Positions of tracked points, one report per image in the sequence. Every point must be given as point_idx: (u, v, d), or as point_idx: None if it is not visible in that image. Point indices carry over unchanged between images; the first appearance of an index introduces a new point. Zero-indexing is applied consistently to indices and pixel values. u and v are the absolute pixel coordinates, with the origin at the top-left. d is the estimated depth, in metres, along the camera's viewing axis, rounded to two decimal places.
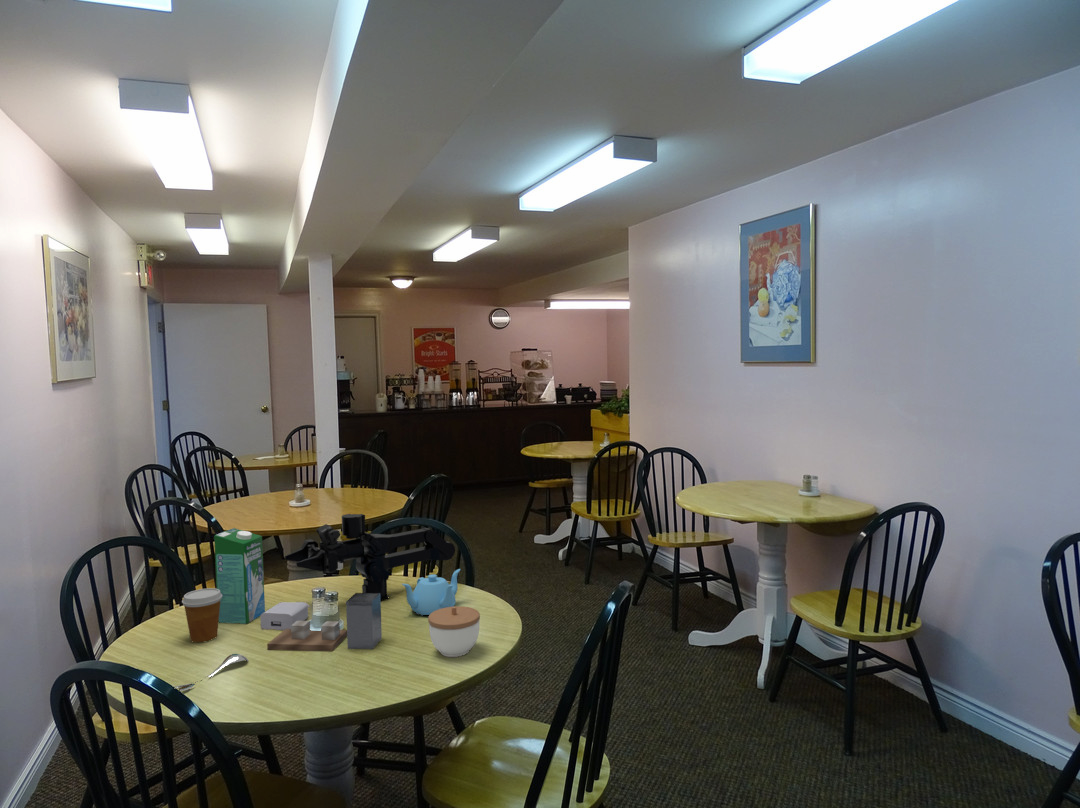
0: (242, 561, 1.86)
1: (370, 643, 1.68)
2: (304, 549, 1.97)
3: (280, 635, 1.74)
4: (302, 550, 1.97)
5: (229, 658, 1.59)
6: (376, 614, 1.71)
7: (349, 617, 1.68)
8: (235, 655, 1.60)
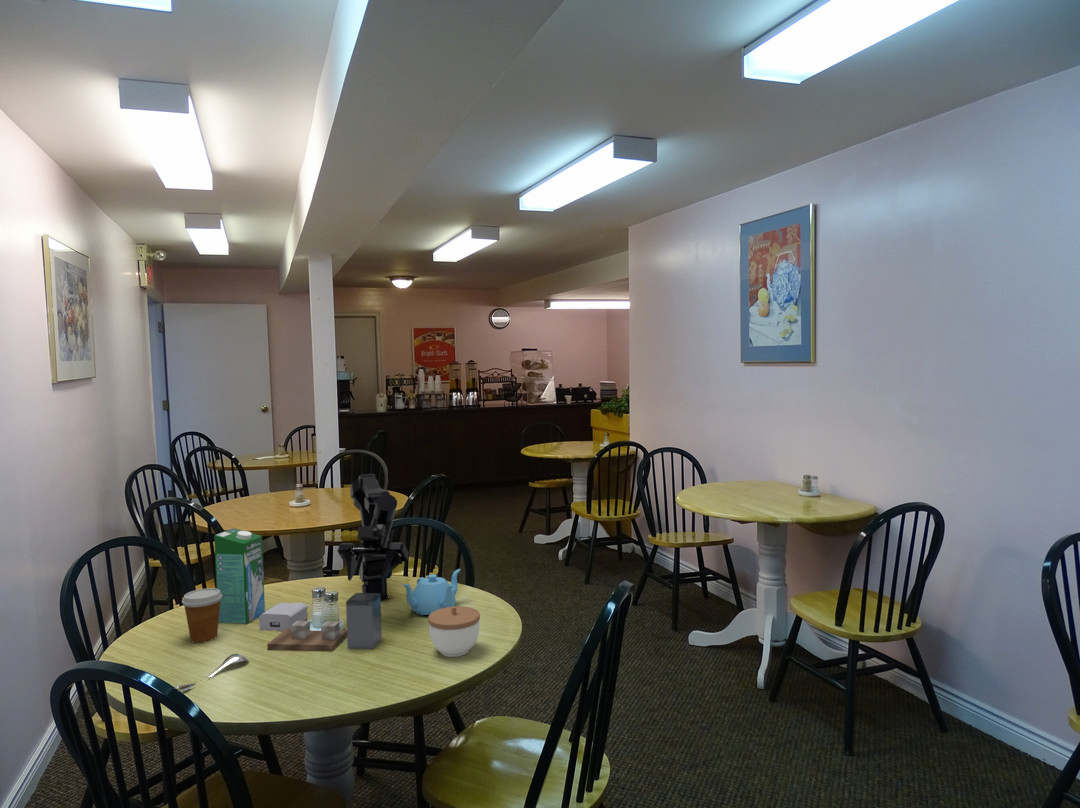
0: (242, 561, 1.86)
1: (370, 643, 1.68)
2: (352, 558, 1.83)
3: (280, 635, 1.74)
4: (351, 560, 1.82)
5: (229, 658, 1.59)
6: (376, 614, 1.71)
7: (349, 617, 1.68)
8: (235, 655, 1.60)
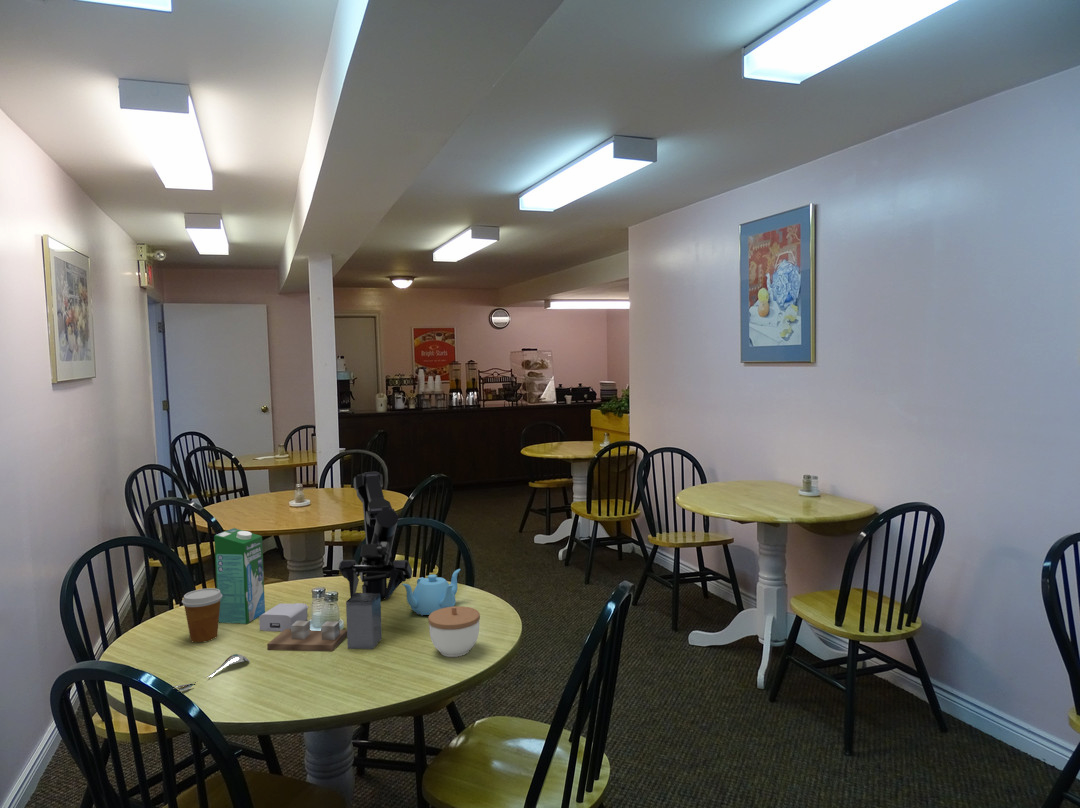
0: (242, 561, 1.86)
1: (370, 643, 1.68)
2: (354, 575, 1.78)
3: (280, 635, 1.74)
4: (354, 578, 1.78)
5: (230, 659, 1.59)
6: (376, 614, 1.71)
7: (349, 617, 1.68)
8: (236, 656, 1.60)
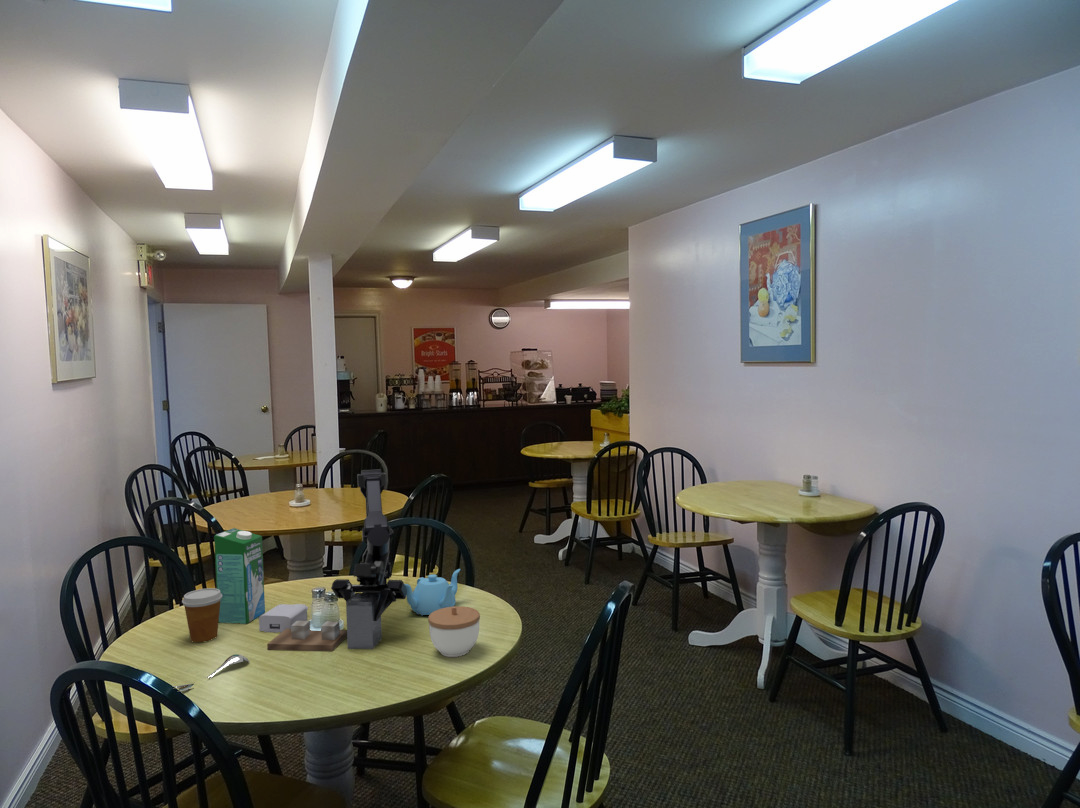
0: (242, 561, 1.86)
1: (370, 643, 1.68)
2: (351, 596, 1.73)
3: (280, 635, 1.74)
4: None
5: (230, 659, 1.58)
6: None
7: (349, 617, 1.68)
8: (236, 656, 1.60)
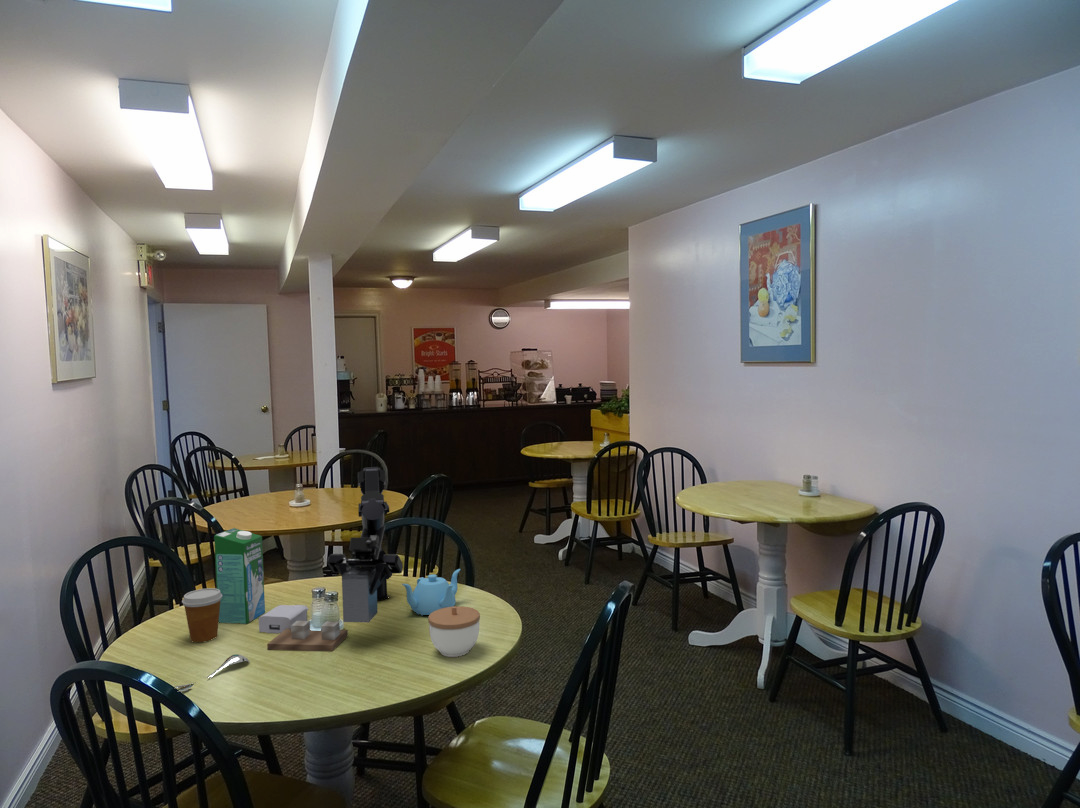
0: (242, 561, 1.86)
1: (366, 616, 1.68)
2: None
3: (280, 635, 1.74)
4: None
5: (230, 659, 1.58)
6: None
7: (345, 591, 1.68)
8: (236, 656, 1.59)
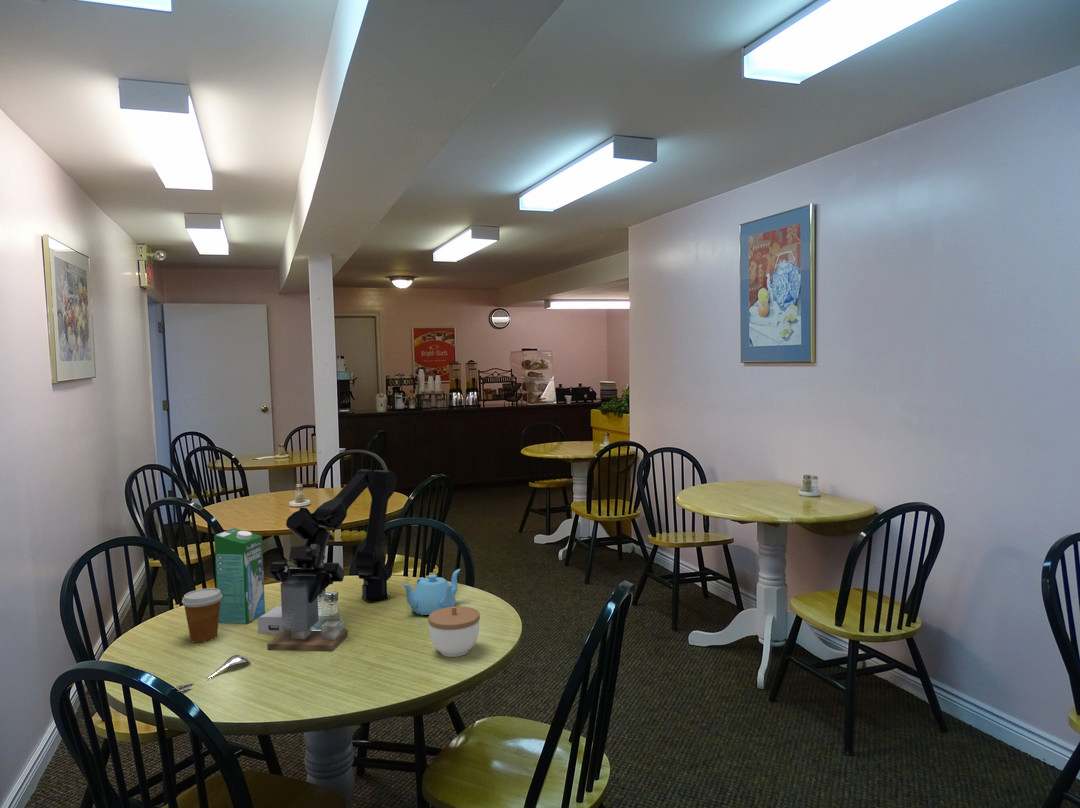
0: (242, 561, 1.86)
1: (304, 625, 1.70)
2: None
3: (280, 635, 1.74)
4: None
5: (230, 659, 1.58)
6: None
7: (284, 599, 1.70)
8: (237, 656, 1.59)
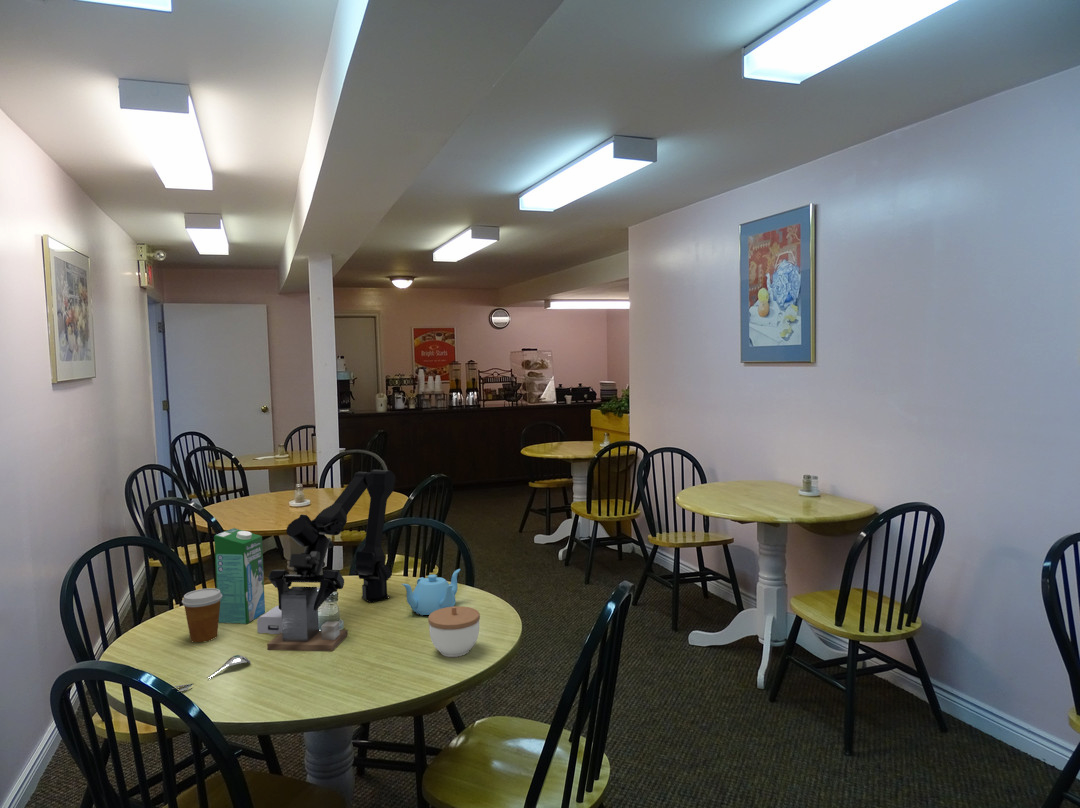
0: (242, 561, 1.86)
1: (305, 636, 1.70)
2: (283, 586, 1.75)
3: (280, 635, 1.74)
4: (283, 588, 1.75)
5: (231, 659, 1.58)
6: (311, 607, 1.72)
7: (284, 610, 1.70)
8: (237, 657, 1.59)
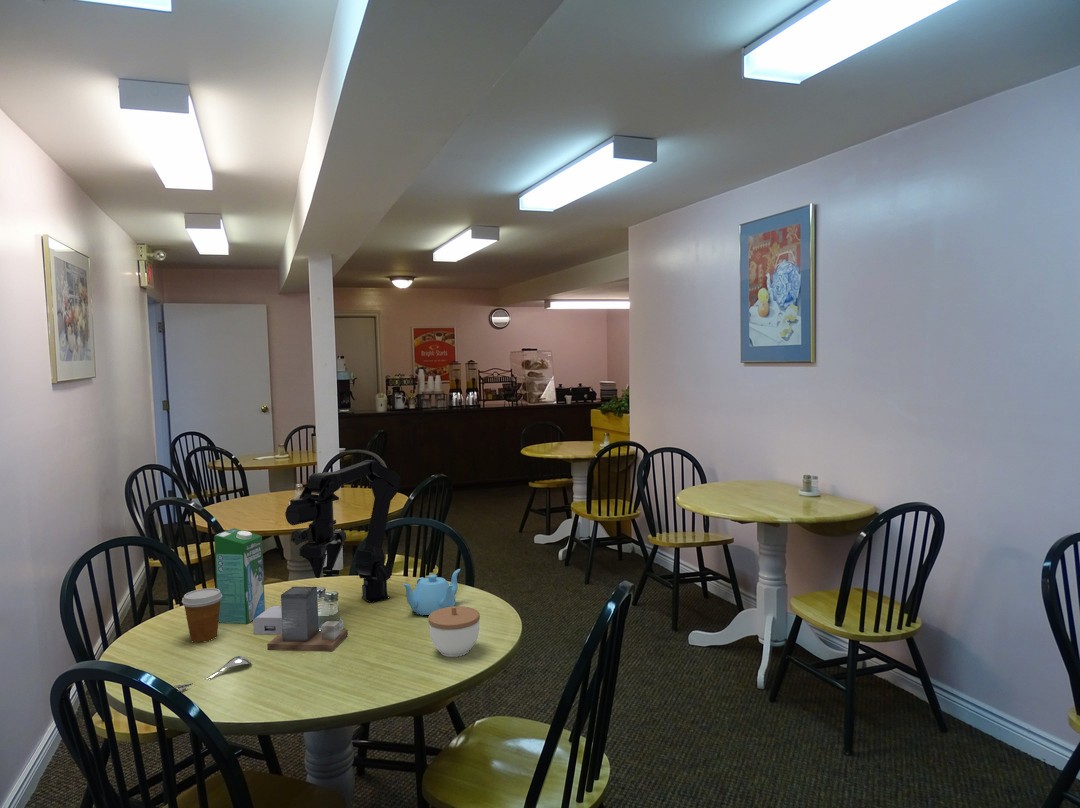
0: (242, 561, 1.86)
1: (305, 636, 1.70)
2: (326, 547, 1.95)
3: (280, 635, 1.74)
4: (327, 550, 1.95)
5: (231, 660, 1.57)
6: (311, 607, 1.72)
7: (284, 610, 1.70)
8: (238, 658, 1.58)
